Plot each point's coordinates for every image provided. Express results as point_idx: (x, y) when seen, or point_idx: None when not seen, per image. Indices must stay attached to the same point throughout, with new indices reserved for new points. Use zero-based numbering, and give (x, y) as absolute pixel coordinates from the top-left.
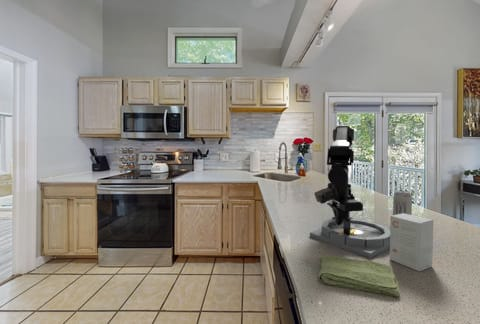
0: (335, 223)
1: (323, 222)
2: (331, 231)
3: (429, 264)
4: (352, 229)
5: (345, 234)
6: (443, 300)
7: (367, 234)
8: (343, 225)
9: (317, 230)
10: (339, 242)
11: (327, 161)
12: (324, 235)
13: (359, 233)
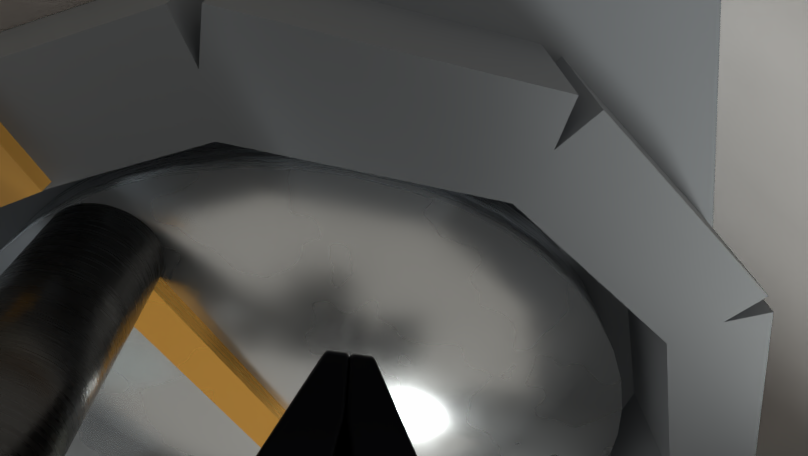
0: (651, 422)
1: (738, 274)
2: (194, 69)
3: None
4: None
5: (46, 230)
6: None
7: None
8: (21, 347)
9: (697, 59)
10: (26, 31)
11: None
12: (421, 8)
13: (176, 426)
